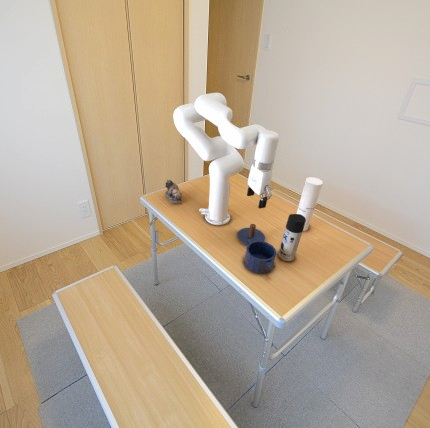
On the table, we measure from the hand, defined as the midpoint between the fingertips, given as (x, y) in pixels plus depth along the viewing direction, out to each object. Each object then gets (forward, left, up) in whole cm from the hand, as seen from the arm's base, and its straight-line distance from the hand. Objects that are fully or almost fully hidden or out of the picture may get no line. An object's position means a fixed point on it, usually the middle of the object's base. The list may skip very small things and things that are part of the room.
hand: (255, 201), depth 116 cm
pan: (+3, -16, -19) cm, 26 cm away
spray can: (+15, -10, -20) cm, 27 cm away
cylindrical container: (+25, +13, -20) cm, 34 cm away
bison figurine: (-40, +25, -20) cm, 51 cm away
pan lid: (+1, 0, -19) cm, 19 cm away
